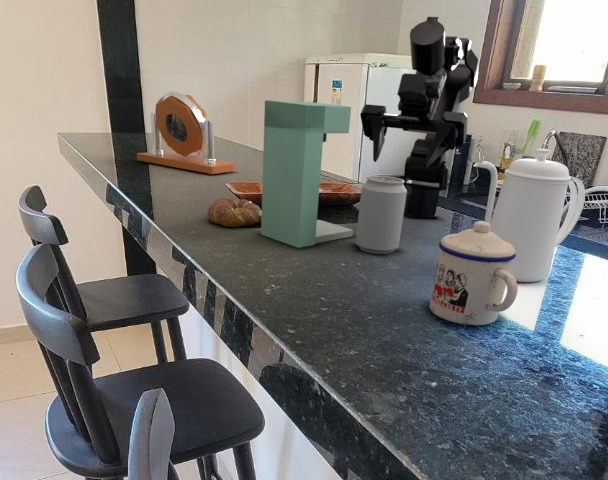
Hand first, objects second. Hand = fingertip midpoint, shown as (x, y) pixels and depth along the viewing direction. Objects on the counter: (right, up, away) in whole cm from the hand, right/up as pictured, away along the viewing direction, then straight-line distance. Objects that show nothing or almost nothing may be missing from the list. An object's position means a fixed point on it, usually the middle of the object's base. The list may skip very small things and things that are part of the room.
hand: (399, 163), depth 93 cm
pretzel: (-30, -8, +11) cm, 33 cm away
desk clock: (-52, +23, +66) cm, 87 cm away
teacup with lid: (+4, -29, -26) cm, 39 cm away
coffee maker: (-16, -12, +5) cm, 20 cm away
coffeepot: (+16, -21, -8) cm, 28 cm away
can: (-4, -15, 0) cm, 16 cm away
